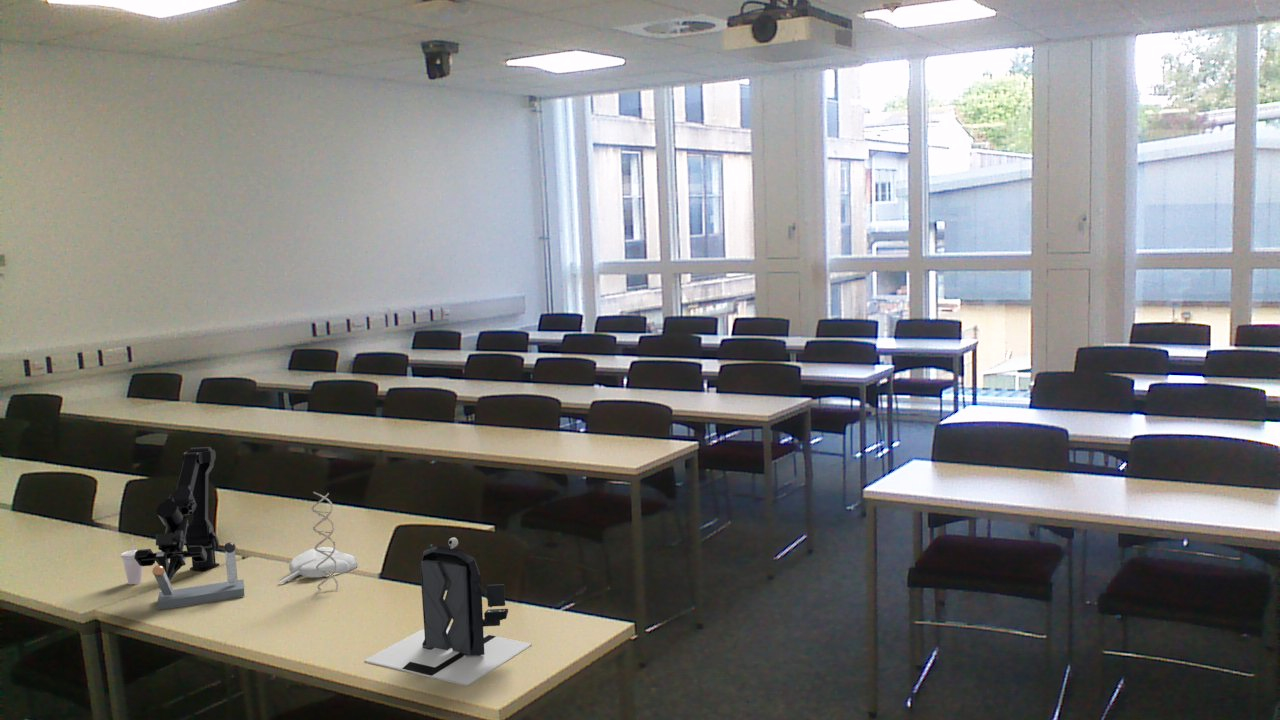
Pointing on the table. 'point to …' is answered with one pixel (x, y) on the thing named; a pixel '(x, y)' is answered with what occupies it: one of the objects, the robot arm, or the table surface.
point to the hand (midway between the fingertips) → (166, 582)
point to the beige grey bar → (231, 562)
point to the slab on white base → (462, 645)
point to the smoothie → (132, 566)
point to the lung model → (312, 558)
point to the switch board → (201, 594)
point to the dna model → (325, 539)
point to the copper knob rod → (162, 580)
